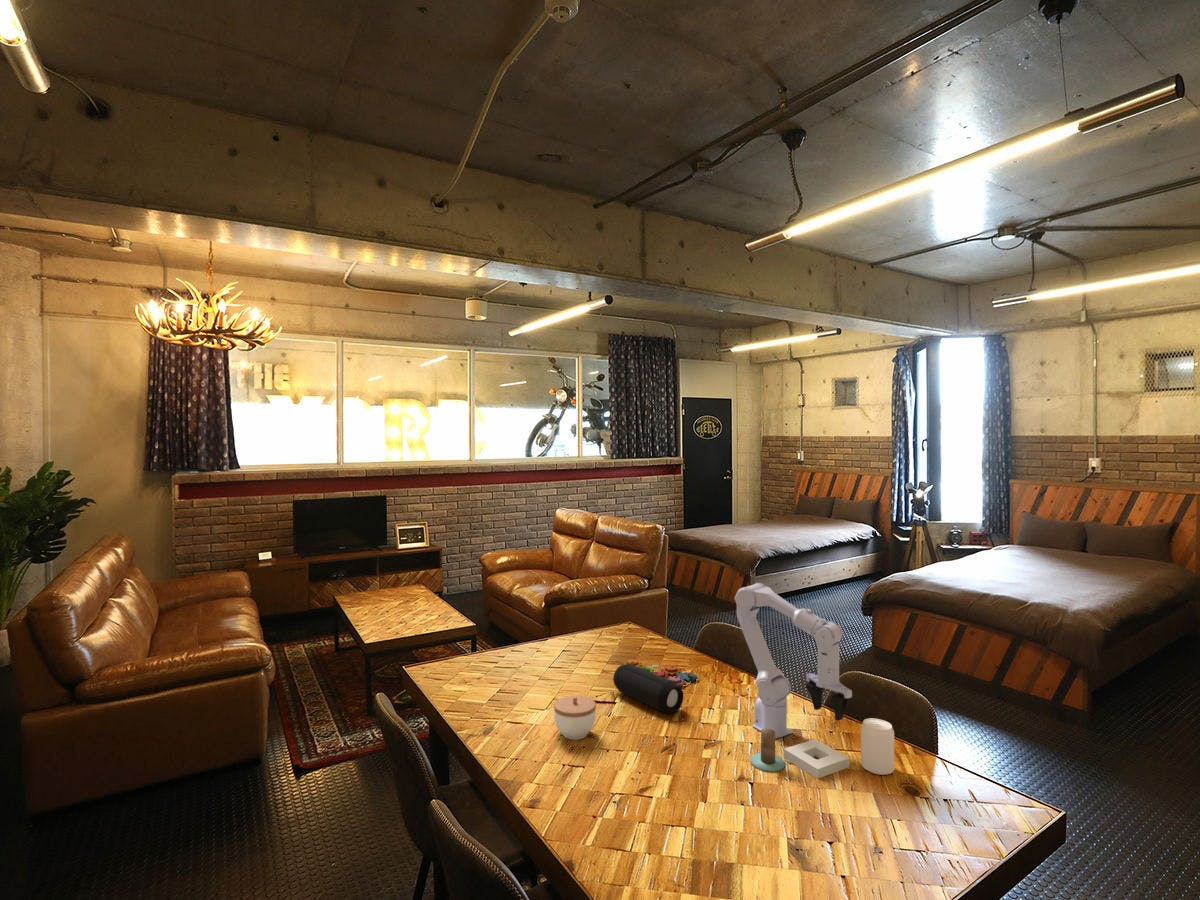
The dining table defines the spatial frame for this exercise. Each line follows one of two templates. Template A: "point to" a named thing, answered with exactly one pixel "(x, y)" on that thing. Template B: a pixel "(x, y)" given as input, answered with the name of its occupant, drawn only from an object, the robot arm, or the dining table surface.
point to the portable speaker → (648, 688)
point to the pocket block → (820, 767)
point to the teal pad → (762, 766)
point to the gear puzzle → (666, 672)
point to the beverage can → (877, 746)
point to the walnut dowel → (768, 746)
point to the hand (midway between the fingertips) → (828, 714)
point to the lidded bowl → (574, 716)
